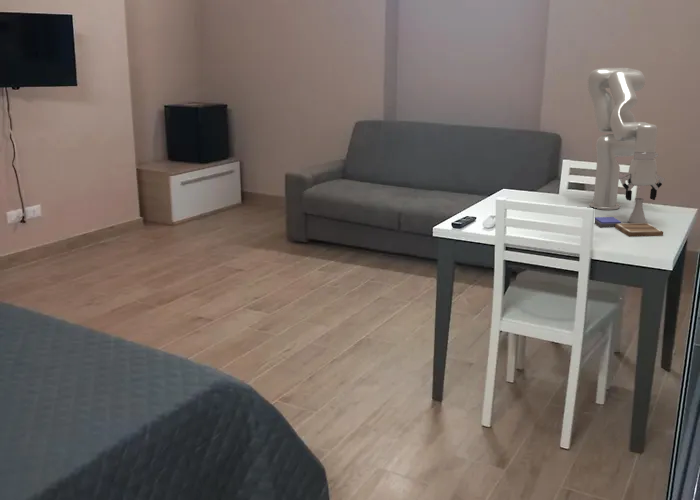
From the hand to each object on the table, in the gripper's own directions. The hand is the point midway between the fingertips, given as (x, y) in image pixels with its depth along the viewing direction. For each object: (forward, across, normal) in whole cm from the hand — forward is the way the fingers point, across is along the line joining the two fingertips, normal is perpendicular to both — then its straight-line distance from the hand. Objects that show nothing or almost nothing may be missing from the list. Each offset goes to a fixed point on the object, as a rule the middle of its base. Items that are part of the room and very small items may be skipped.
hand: (640, 199), depth 283 cm
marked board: (+10, +5, +11) cm, 16 cm away
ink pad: (+10, +13, 0) cm, 16 cm away
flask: (+10, 0, -1) cm, 10 cm away
